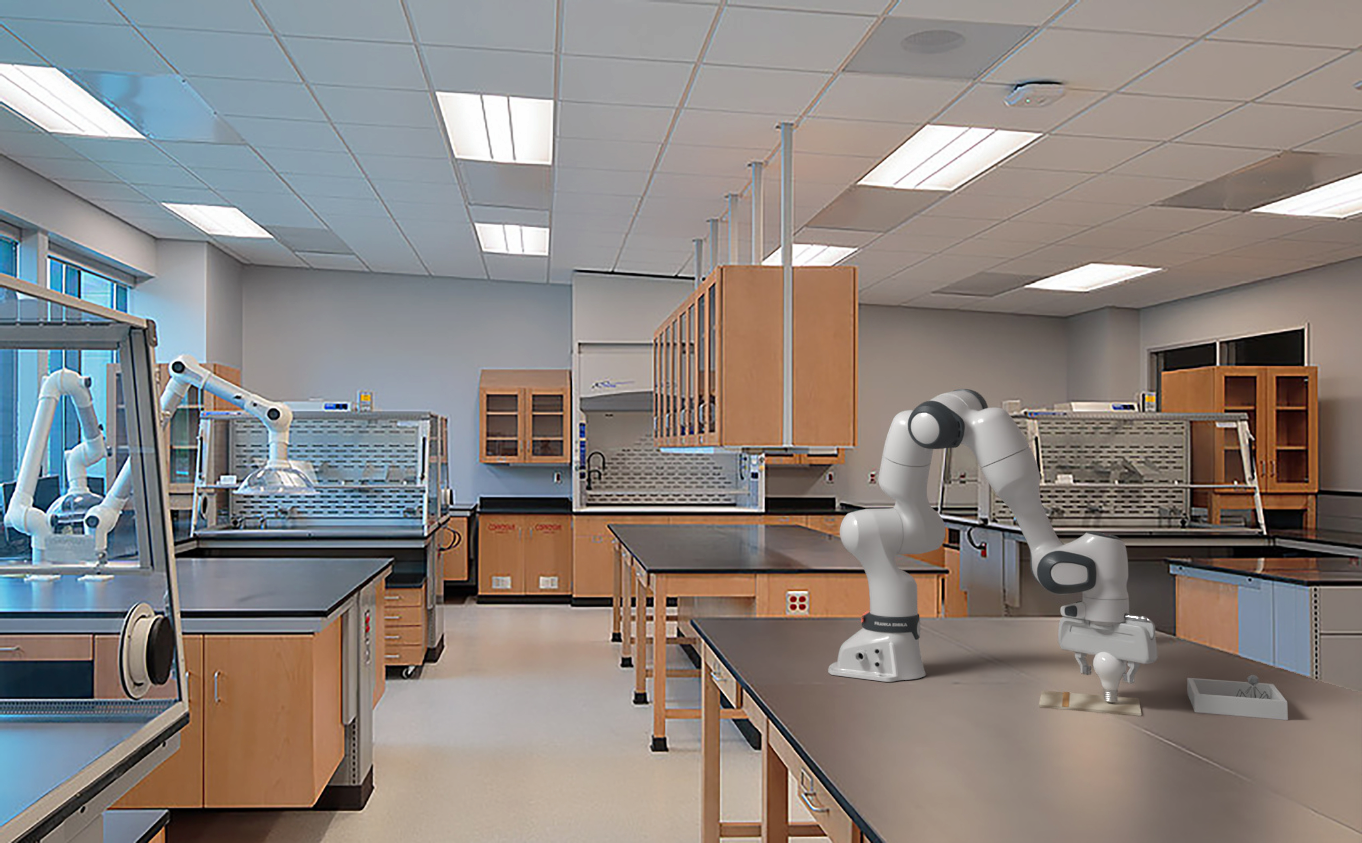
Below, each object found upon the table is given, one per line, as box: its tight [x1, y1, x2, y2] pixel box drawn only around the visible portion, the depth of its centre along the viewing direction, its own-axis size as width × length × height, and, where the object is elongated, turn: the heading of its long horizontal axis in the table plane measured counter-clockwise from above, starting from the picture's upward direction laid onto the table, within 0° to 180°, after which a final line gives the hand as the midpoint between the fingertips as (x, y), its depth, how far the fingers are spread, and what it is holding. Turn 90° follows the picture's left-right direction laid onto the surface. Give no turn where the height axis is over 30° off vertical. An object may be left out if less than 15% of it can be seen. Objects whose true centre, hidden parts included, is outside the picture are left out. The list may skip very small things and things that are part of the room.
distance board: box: [1038, 690, 1142, 717], centre depth 204 cm, size 19×13×1 cm
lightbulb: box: [1092, 652, 1128, 704], centre depth 203 cm, size 6×6×11 cm
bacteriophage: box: [1236, 674, 1270, 699], centre depth 201 cm, size 7×8×7 cm
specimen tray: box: [1186, 677, 1289, 721], centre depth 201 cm, size 16×16×4 cm
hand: (1106, 678), depth 203 cm, fingers open, 8 cm apart
